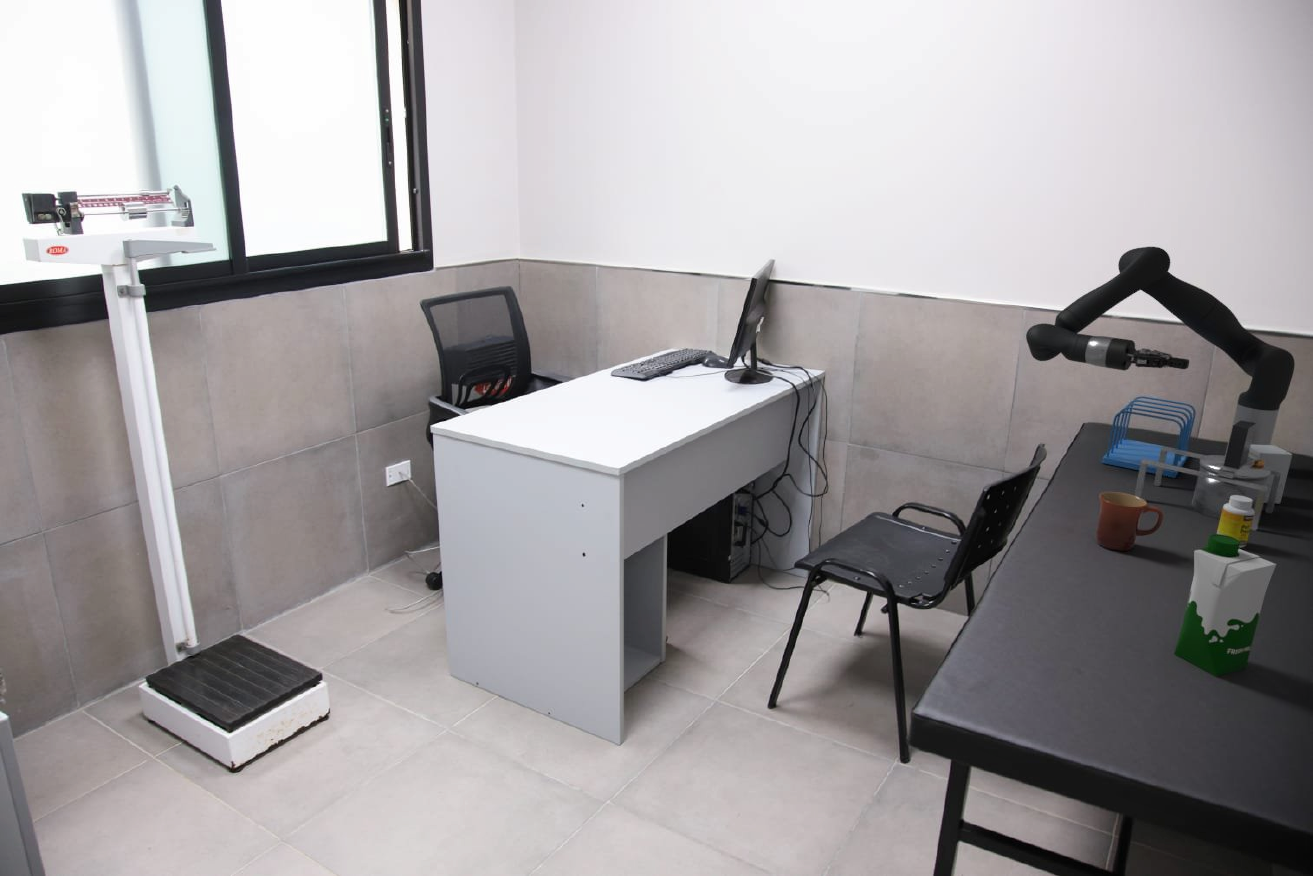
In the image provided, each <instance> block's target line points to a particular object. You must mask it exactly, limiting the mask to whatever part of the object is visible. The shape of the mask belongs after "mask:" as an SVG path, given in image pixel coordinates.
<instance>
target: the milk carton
mask: <svg viewBox="0 0 1313 876" xmlns="http://www.w3.org/2000/svg"><path fill="white" fill-rule="evenodd" d="M1239 545H1240V542H1239V541H1238V540H1237V539H1235V538H1233V537H1230V536H1226V535H1220V534H1217V533H1216V534H1215V533H1214V534H1210V535H1209V538H1208V541H1207V544H1206V546H1204V547H1202V548H1199V549H1196V550H1194V551H1193V552H1194V553H1193V554H1194V555H1193V556H1194V558H1193V559H1194V561H1193V563H1194V565H1193V566H1194V568H1193V571H1194V572H1193V578H1192V582H1191V587H1190V591H1189V595H1188V600H1187V605H1186V607H1185V613H1184V617H1183V621H1182V623H1181V627H1180V631H1179V635H1178V638H1177V641H1176V646H1175V649H1174V653H1173V655H1175V656H1178V657H1179V658H1180V659H1183V660H1185V661H1186V662H1189V663H1190V664H1192V665H1194V666H1196V667H1197V668H1200V669H1201V670H1203V671H1205V672H1207V673H1208V674H1210V675H1212V676H1214V677H1220V676H1224V675H1226V674H1230V673H1234V672H1237V671H1240V670H1244V669H1247V665H1248V661H1249V657H1250V653H1251V649H1252V646H1253V642H1254V637H1255V633H1256V629H1257V626H1258V622H1259V619H1260V615H1261V610H1262V608H1263V607H1262V606H1263V603H1264V599H1265V595H1266V593H1267V589H1268V586H1269V585H1270V584H1269V583H1270V581H1271V578H1272V575H1273V574H1274V571H1275V569H1276V566H1277V563H1274V562H1272V561H1270V560H1267V559H1264V558H1261V556H1259V555H1257V554H1256V553H1255V554H1254V553H1251V552H1248V551H1246V550H1242V549H1241V548H1239Z"/></svg>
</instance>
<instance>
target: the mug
mask: <svg viewBox="0 0 1313 876" xmlns="http://www.w3.org/2000/svg"><path fill="white" fill-rule="evenodd" d="M1098 498H1099V503H1100V505H1099V506H1100V507H1099V509H1100V511H1099V517H1098V521H1097V525H1096V529H1095V541H1096V542H1097V544H1098V545H1100V547H1103V548H1105V549H1108V550H1111V551H1117V552H1126V551H1128V550H1131V549H1133V548H1134V545H1135V544H1136V541H1137V537H1141V536H1142V537H1143V536H1148V535H1152V534H1154V533H1155V532H1156V531H1158V530H1159V529H1160V527H1161V525H1162V523H1163V520H1164V513H1163V511H1162V509H1160V508H1159V507H1156V506H1152V505H1148V503H1147V500H1145V499H1144V498H1142V497H1141V498H1139V497H1137V496H1134V495H1133V494H1130V493H1125V492H1118V491H1104V492H1101V493H1099V495H1098ZM1148 512H1155V513H1157V514H1158V515H1157V519H1156V521H1155V523H1154V524H1153V526H1152V527H1150V528H1145V529H1143V528H1139V527H1140V525H1139V524H1140V520H1141V517H1142V516H1143V514H1145V513H1148Z"/></svg>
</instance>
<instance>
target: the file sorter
mask: <svg viewBox="0 0 1313 876" xmlns="http://www.w3.org/2000/svg"><path fill="white" fill-rule="evenodd" d="M1143 399H1146V400H1143ZM1148 400H1149V401H1148ZM1150 400H1151V401H1150ZM1156 401H1157V402H1156ZM1158 401H1159V402H1158ZM1163 402H1165V403H1163ZM1142 403H1144V404H1142ZM1168 403H1169V404H1168ZM1170 403H1171V404H1170ZM1149 404H1150V405H1149ZM1173 404H1174V405H1173ZM1175 404H1176V405H1175ZM1153 405H1154V406H1153ZM1155 405H1156V406H1155ZM1177 405H1178V406H1177ZM1180 405H1181V406H1180ZM1182 405H1183V406H1182ZM1134 406H1135V407H1134ZM1160 406H1162V407H1160ZM1184 406H1186V407H1184ZM1141 407H1142V408H1141ZM1166 407H1168V408H1166ZM1187 407H1189V408H1190V409H1191V410H1192V412H1191V410H1190V409H1189V408H1187ZM1146 408H1148V409H1146ZM1171 408H1173V409H1171ZM1150 409H1151V410H1150ZM1152 409H1155V410H1152ZM1178 409H1180V410H1178ZM1132 410H1133V411H1132ZM1156 410H1161V411H1156ZM1182 410H1183V411H1182ZM1136 411H1140V412H1136ZM1164 411H1167V412H1164ZM1184 411H1186V412H1187V413H1188V414H1189V415H1188V414H1187V413H1186V412H1184ZM1143 412H1145V413H1143ZM1169 412H1173V413H1169ZM1147 413H1149V414H1147ZM1150 413H1151V414H1150ZM1174 413H1178V414H1174ZM1153 414H1158V415H1153ZM1179 414H1181V415H1183V416H1184V417H1185V418H1186V420H1185V419H1184V418H1183V416H1181V415H1179ZM1132 415H1135V416H1141V417H1142V416H1144V417H1149V418H1153V419H1159V420H1165V421H1170V422H1174V423H1176V424H1177V426H1179V429H1180V431H1179V435H1178V441H1177V445H1176V448H1174V447H1172V448H1173V449H1177V450H1182V451H1187V452H1190V451H1189V450H1188V448H1189V443H1190V439H1191V434H1192V431H1193V427H1194V423H1195V419H1196V409H1195V407H1194V406H1193V405H1191V404H1190V403H1187V402H1180V401H1175V400H1168V399H1164V398H1163V399H1162V398H1158V397H1157V398H1156V397H1152V396H1151V397H1150V396H1145V395H1139V396H1137V397H1135V398H1133V400H1131V401H1130V402H1128V404H1127V405H1125V406H1124V407H1123V408H1122V409H1120V411H1119V412H1118V413H1117V414H1115V415H1114V418H1113V420H1112V426H1111V432H1110V436H1109V441H1108V447H1107V451H1106V454H1104V456H1103V457H1102V460H1101V464H1106V465H1111V466H1115V467H1122V468H1126V469H1131V470H1135V471H1139V470H1140V465H1141V460H1142V459H1147V460H1151V461H1156V462H1158V461H1159V457H1160V452H1161V448H1162V447H1165V445H1159V444H1153V443H1148V442H1143V441H1137V440H1132V439H1127V433H1128V429H1129V426H1130V425H1129V424H1130V420H1131V416H1132ZM1159 415H1163V416H1159ZM1164 416H1168V417H1164ZM1170 417H1174V418H1178V419H1179V420H1180V421H1181V422H1182V423H1181V422H1180V421H1179V420H1177V419H1174V418H1170ZM1182 424H1183V425H1182ZM1167 447H1168V448H1170V447H1169V446H1167ZM1189 457H1190V456H1185V455H1180V454H1176V453H1171V452H1167V456H1166V460H1165V464H1169V465H1173V466H1178V467H1182V468H1183V466H1184V464H1185V463H1186V461H1187V460H1188V458H1189ZM1156 471H1157V466H1153V465H1149V464H1148V466H1147V470H1146V473H1151V474H1155V475H1156ZM1179 473H1180V472H1179V471H1175V470H1171V469H1166V468H1164V470H1163V474H1162V475H1163V476H1162V477H1167V476H1168V477H1167V478H1173V479H1174V478H1175V479H1176V476H1177V475H1178V474H1179Z"/></svg>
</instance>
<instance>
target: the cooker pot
mask: <svg viewBox="0 0 1313 876" xmlns="http://www.w3.org/2000/svg"><path fill="white" fill-rule="evenodd" d="M1168 447H1169V446H1164V447H1162V448H1161V452H1160V457H1159V461H1158V462H1156V461H1151V460H1147V459H1142V460H1141V465H1140V470H1138V476H1137V480H1136V485H1135V490H1134V496H1137V497H1139V498H1142V493H1143V490H1144V489H1143V488H1144V484H1145V479H1146V475H1147V472H1146V470H1147V466H1148V464H1149V465H1153V466H1157V471H1156V474H1155V476H1154V481H1153V486H1154V485H1155V487H1158V486H1159V487H1160V486H1161V484H1162V478H1163V476H1162V474H1163V470H1164V468H1166V469H1171V470H1175V471H1179V472H1178V473H1180V472H1181V473H1184V474H1188V475H1193V476H1197V479H1196V485H1195V488H1194V492H1193V497H1192V501H1191V505H1192V506H1191V507H1193V508H1194V509H1193V510H1195V512H1198V513H1200V514H1202V515H1204V516H1208V517H1210V518H1215V519H1218V520H1220V518H1221V514H1222V509H1223V506H1224V505H1225V504H1227V503H1229V500H1230V496H1232V495H1240V496H1245V497H1248V498H1250V499H1252V500H1253V502H1252V506H1251V508H1252V509H1253V510H1254V512H1255V513H1254V517H1253V521H1252V525H1251V529H1250V531H1251V530H1252V531H1255V532H1256V531H1257V530H1258V526H1259V523H1260V520H1261V515H1262V512H1263V508H1264V504H1265V503H1264V500H1265V496H1266V492H1267V487H1266V486H1265V485H1266V481H1267V478H1266V479H1242V478H1235V477H1234V478H1233V479H1231V478H1227V477H1223V476H1218V475H1217V473H1214V472H1211V471H1209V470H1206V469H1204V468H1203V467H1201V466H1200V465H1199V469H1198V470H1195V469H1191V468H1186V467H1183V466H1182V467H1178V466H1173V465H1169V464H1165V460H1166V456H1167V452H1171V453H1176V454H1180V455H1185V456H1189V457H1190V458H1191V457H1192V458H1195V459H1198V460H1200V459H1201V457H1203V456H1206V455H1205V454H1200V453H1196V452H1190V451H1189V452H1187V451H1188V450H1187V451H1182V450H1177V449H1176V448H1175V449H1173V448H1174V447H1169V448H1168ZM1270 470H1271V469H1270ZM1270 474H1273V475H1274V479H1273V483H1272V487H1271V491H1270V495H1269V499H1268V503H1266V506H1265V510H1264V511H1265V513H1266V514H1269V515H1270V514H1272V513H1273V512H1274V509H1275V508H1274V507H1275V504H1276V503H1275V500H1276V496H1277V492H1278V488H1279V484H1280V481H1281V477H1282V472H1280V471H1276V470H1271V472H1270Z"/></svg>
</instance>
